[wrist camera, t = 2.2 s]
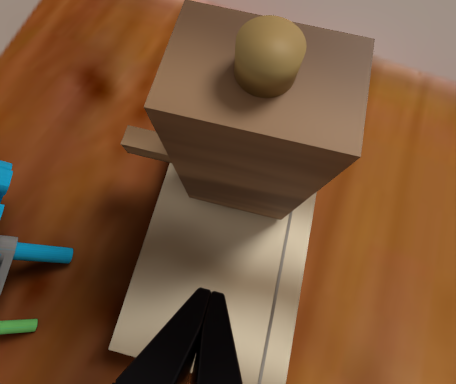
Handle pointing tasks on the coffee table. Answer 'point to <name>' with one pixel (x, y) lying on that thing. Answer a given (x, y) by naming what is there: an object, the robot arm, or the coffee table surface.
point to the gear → (22, 257)
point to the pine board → (220, 276)
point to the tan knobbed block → (255, 108)
